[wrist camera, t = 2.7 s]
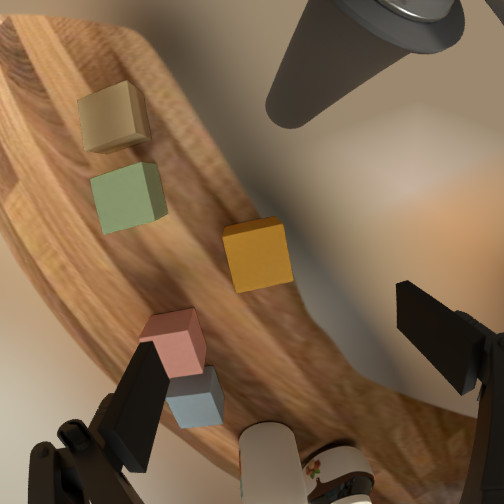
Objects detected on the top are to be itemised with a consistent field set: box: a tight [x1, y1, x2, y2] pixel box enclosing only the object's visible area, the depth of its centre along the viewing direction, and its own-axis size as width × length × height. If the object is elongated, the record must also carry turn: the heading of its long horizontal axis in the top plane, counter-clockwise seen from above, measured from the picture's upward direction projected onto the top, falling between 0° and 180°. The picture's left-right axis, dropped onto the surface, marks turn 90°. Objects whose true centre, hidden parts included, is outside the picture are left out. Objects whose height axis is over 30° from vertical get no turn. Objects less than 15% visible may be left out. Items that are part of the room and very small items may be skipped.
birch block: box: [77, 80, 152, 154], centre depth 24 cm, size 5×5×5 cm
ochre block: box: [222, 216, 293, 293], centre depth 27 cm, size 5×5×5 cm
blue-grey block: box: [165, 365, 224, 428], centre depth 31 cm, size 5×5×5 cm
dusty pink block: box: [139, 308, 207, 378], centre depth 29 cm, size 5×5×5 cm
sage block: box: [90, 162, 168, 235], centre depth 26 cm, size 5×5×5 cm
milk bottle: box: [239, 422, 307, 504], centre depth 27 cm, size 8×8×20 cm
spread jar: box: [302, 444, 374, 504], centre depth 33 cm, size 12×11×12 cm
